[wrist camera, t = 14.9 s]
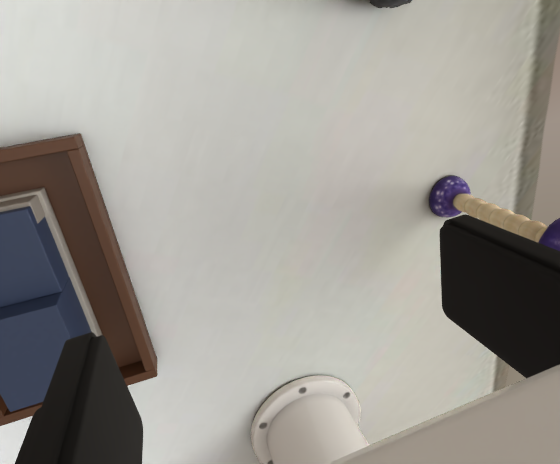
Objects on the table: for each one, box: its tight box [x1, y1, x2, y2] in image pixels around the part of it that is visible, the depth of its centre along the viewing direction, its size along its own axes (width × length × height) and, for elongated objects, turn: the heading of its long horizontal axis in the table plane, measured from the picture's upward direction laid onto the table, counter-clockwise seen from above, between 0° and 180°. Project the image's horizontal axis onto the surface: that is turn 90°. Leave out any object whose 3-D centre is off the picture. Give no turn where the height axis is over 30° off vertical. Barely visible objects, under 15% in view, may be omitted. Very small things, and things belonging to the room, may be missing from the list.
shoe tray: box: [0, 133, 157, 426], centre depth 30 cm, size 21×13×2 cm, turn 9°
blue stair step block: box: [0, 187, 102, 412], centre depth 28 cm, size 6×14×6 cm, turn 9°
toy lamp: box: [429, 176, 560, 251], centre depth 32 cm, size 5×5×17 cm
